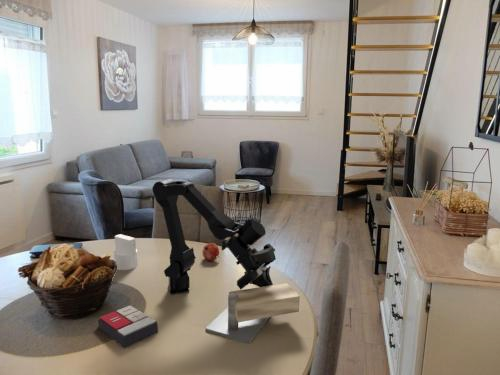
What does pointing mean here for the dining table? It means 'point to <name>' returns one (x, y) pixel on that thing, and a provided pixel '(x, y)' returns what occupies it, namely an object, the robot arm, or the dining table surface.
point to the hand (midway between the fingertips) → (273, 292)
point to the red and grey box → (128, 326)
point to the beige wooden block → (261, 303)
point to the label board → (243, 332)
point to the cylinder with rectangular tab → (125, 252)
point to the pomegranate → (210, 251)
